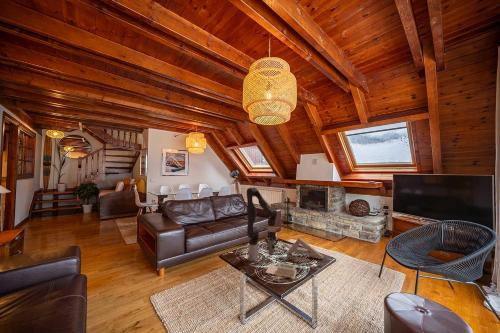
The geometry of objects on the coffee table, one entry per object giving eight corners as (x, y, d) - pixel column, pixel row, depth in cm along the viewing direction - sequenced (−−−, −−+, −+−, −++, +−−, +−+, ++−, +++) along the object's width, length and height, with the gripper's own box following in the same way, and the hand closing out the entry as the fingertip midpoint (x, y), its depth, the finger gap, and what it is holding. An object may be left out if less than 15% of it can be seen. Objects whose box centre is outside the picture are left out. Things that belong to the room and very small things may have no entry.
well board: (265, 273, 178) (265, 266, 178) (269, 265, 191) (269, 259, 191) (294, 279, 168) (294, 272, 168) (296, 270, 182) (296, 264, 181)
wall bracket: (310, 272, 206) (287, 253, 214) (310, 270, 211) (287, 251, 218) (323, 258, 202) (299, 238, 209) (323, 256, 206) (299, 237, 214)
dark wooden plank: (272, 255, 178) (272, 240, 177) (268, 255, 179) (268, 240, 178) (274, 251, 186) (274, 237, 186) (271, 251, 187) (271, 236, 187)
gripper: (263, 230, 181) (263, 248, 181) (278, 232, 176) (278, 251, 176) (265, 227, 188) (265, 245, 188) (279, 229, 183) (279, 247, 183)
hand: (271, 248), depth 182 cm, fingers closed on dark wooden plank, 3 cm apart
